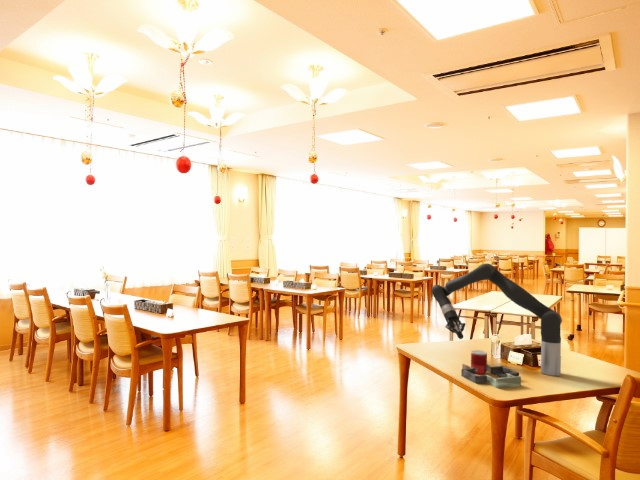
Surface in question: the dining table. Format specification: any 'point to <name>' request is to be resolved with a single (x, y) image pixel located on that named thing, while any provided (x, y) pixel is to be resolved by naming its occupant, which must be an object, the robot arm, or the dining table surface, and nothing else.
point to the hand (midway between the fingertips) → (461, 338)
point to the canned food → (479, 362)
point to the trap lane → (506, 377)
